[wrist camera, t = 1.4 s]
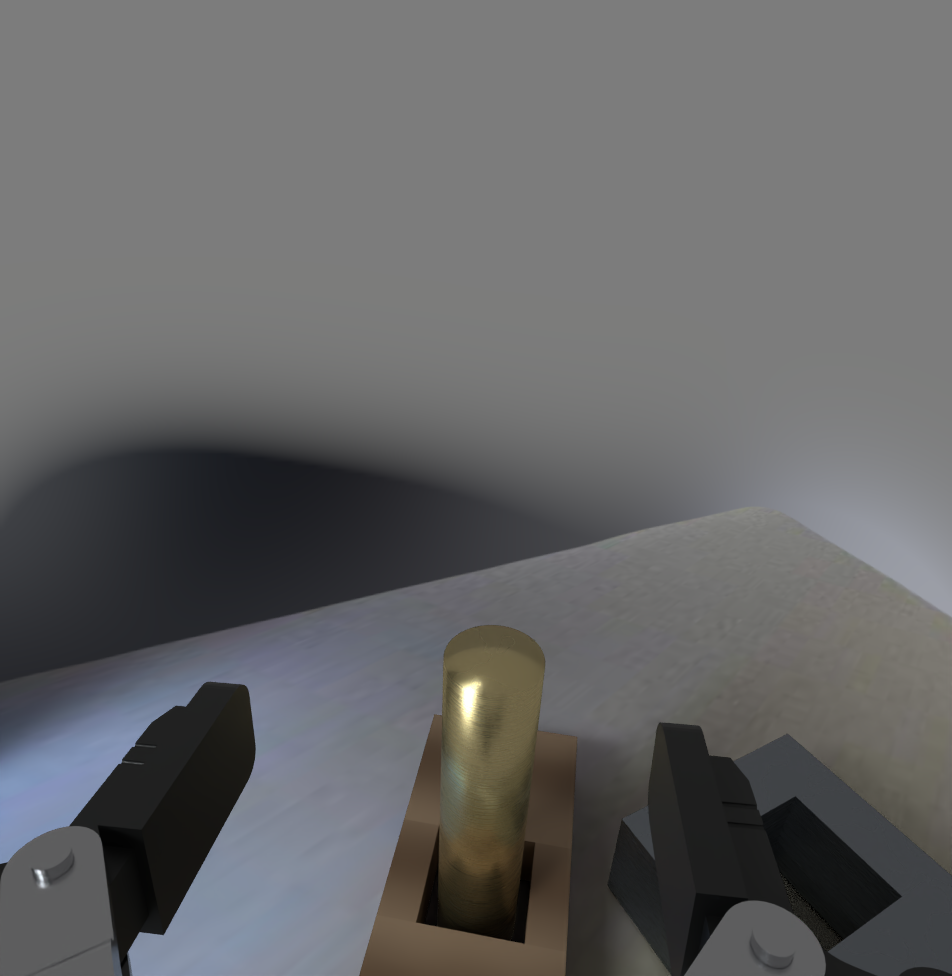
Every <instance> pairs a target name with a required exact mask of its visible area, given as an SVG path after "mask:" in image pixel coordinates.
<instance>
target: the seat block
mask: <svg viewBox="0 0 952 976" xmlns="http://www.w3.org/2000/svg"><path fill="white" fill-rule="evenodd" d="M734 763H735V764H736V765H737V767H738V768H739V769H740V770H741V771H742V773H743V774H744V775H745V776H746V777H747V778H748V780H749V782H750V785H751V788H752V791H753V794H754V797H755V800H756V803H757V810H759V812H760V815H761V818H762V821H763V824H764V830H765V831H766V833H767V836H768V839H769V842H770V845H771V848H772V851H773V854H774V857H775V860H776V863H777V866H778V869H779V871H780V873H781V874H782V875H783V876H784V877H785V878H786V879H787V880H788V881H789V882H790V883H791V884H792V885H793V886H794V887H795V888H796V890H797V891H798V892H799V893H800V894H801V895H802V896H803V897H804V898H805V899H806V900H807V901H808V902H809V903H810V904H811V905H812V907H813V908H814V909H815V910H816V911H817V912H818V913H819V914H820V915H821V916H822V917H823V918H824V919H825V920H826V921H827V922H828V924H829V925H830V926H831V927H832V928H833V929H834V930H835V931H836V932H837V933H838V934H839V935H840V936H841V937H842V938H843V939H844V940H843V941H841V942H840V943H839V944H837V945H836V946H835V947H833V948H832V949H831V950H829V951H828V952H829V953H830V954H831V955H833V956H835V957H836V958H838V959H840V960H841V961H844V962H846V963H848V964H850V965H852V966H855V967H857V968H859V969H862V970H864V971H867V972H869V973H872V974H874V975H877V976H899V975H900V974H901V973H902V972H904V971H905V970H907V969H911V968H914V967H929V968H935V969H939V970H942V971H945V972H947V973H950V974H952V876H951V875H950V874H949V873H948V872H947V871H946V870H944V869H943V868H942V867H941V866H940V865H939V864H937V863H936V862H935V861H934V860H933V859H932V858H931V857H929V856H928V855H927V854H926V853H925V852H924V851H922V850H921V849H920V848H919V847H918V846H917V845H916V844H914V843H913V842H912V841H911V840H910V839H909V838H907V837H906V836H905V835H904V834H903V833H902V832H901V831H899V830H898V829H897V828H896V827H895V826H894V825H892V824H891V823H890V822H889V821H888V820H887V819H886V818H884V817H883V816H882V815H881V814H880V813H879V812H877V811H876V810H875V809H874V808H873V807H872V806H871V805H869V804H868V803H867V802H866V801H865V800H864V799H862V798H861V797H860V796H859V795H858V794H857V793H856V792H854V791H853V790H852V789H851V788H850V787H849V786H847V785H846V784H845V783H844V782H843V781H842V780H841V779H839V778H838V777H837V776H836V775H835V774H834V773H832V772H831V771H830V770H829V769H828V768H827V767H826V766H824V765H823V764H822V763H821V762H820V761H819V760H817V759H816V758H815V757H814V756H813V755H812V754H811V753H809V752H808V751H807V750H806V749H805V748H804V747H803V746H801V745H800V744H799V743H798V742H797V741H796V740H794V739H793V738H792V737H791V736H790V735H789V734H786V735H784V736H782V737H780V738H778V739H776V740H774V741H772V742H770V743H769V744H767V745H765V746H763V747H761V748H759V749H757V750H755V751H753V752H751V753H749V754H747V755H745V756H743V757H741V758H739V759H737V760H735V761H734ZM608 886H609V888H610V889H611V891H612V892H613V894H614V895H615V896H616V898H617V899H618V901H619V902H620V903H621V905H622V906H623V908H624V909H625V910H626V912H627V913H628V915H629V916H630V917H631V919H632V920H633V922H634V923H635V924H636V926H637V927H638V929H639V930H640V931H641V933H642V934H643V936H644V937H645V938H646V940H647V941H648V943H649V944H650V946H651V947H652V948H653V950H654V951H655V953H656V954H657V955H658V957H659V958H660V960H661V961H662V962H663V964H664V965H665V967H666V968H667V969H668V971H669V972H670V974H671V975H672V972H671V965H670V959H669V952H668V945H667V938H666V931H665V925H664V918H663V911H662V904H661V897H660V891H659V884H658V877H657V870H656V864H655V857H654V850H653V843H652V836H651V830H650V823H649V812H648V806H646V807H644V808H642V809H640V810H638V811H636V812H634V813H632V814H630V815H628V816H626V817H625V818H623V819H622V821H621V826H620V830H619V835H618V839H617V844H616V849H615V853H614V858H613V862H612V867H611V872H610V876H609V881H608Z"/></svg>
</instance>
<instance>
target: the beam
mask: <svg viewBox="0 0 952 976" xmlns="http://www.w3.org/2000/svg"><path fill="white" fill-rule="evenodd" d="M441 747H442V715H435V714H434V718H433V721H432V725H431V728H430V732H429V735H428V739H427V742H426V745H425V749H424V752H423V756H422V759H421V763H420V766H419V770H418V773H417V777H416V780H415V784H414V787H413V791H412V794H411V798H410V801H409V805H408V808H407V811H406V815H405V818H404V822H403V825H402V829H401V832H400V836H399V839H398V843H397V846H396V850H395V853H394V857H393V860H392V864H391V867H390V871H389V874H388V877H387V881H386V884H385V888H384V891H383V895H382V898H381V902H380V905H379V909H378V912H377V916H376V919H375V923H374V926H373V930H372V933H371V936H370V940H369V943H368V947H367V950H366V954H365V957H364V961H363V964H362V968H361V971H360V975H359V976H565V970H566V950H567V930H568V911H569V891H570V871H571V851H572V831H573V811H574V792H575V772H576V752H577V737H575V736H568V735H562V734H556V733H549V732H543V731H537V739H536V747H535V756H534V765H533V773H532V782H531V790H530V799H529V808H528V816H527V825H526V833H525V842H524V850H523V859H522V868H521V876H520V879H521V880H526V881H530V888H529V898H528V908H527V918H526V928H525V937H524V944H523V943H518V942H512V941H507V940H502V939H497V938H492V937H487V936H482V935H477V934H472V933H467V932H462V931H457V930H451V929H446V928H441V927H436V926H431V925H426V924H425V920H426V916H427V911H428V907H429V902H430V898H431V893H432V889H433V885H434V880H435V876H436V871H437V867H438V864H439V831H440V789H441Z"/></svg>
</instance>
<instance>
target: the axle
mask: <svg viewBox="0 0 952 976" xmlns="http://www.w3.org/2000/svg"><path fill="white" fill-rule="evenodd" d="M544 670H545V658H544V654H543V652H542V650H541V648H540V647H539V645H538V644H537V643H536V642H535V641H534V640H533V639H532V638H531V637H529V636H528V635H526V634H524V633H523V632H520V631H518V630H516V629H513V628H509V627H505V626H498V625H484V626H477V627H473V628H470V629H467V630H465V631H463V632H461V633H459V634H458V635H456V636H455V637H454V638H453V639H452V640H451V641H450V642H449V643H448V645H447V647H446V649H445V652H444V664H443V705H442V747H441V789H440V831H439V872H438V914H437V924H438V927H441V928H446V929H451V930H457V931H462V932H467V933H472V934H477V935H482V936H487V937H492V938H497V939H502V940H507V941H510V940H511V938H512V936H513V933H514V927H515V919H516V910H517V902H518V893H519V885H520V876H521V868H522V859H523V850H524V842H525V833H526V825H527V816H528V808H529V799H530V790H531V782H532V773H533V765H534V756H535V747H536V739H537V730H538V722H539V713H540V705H541V696H542V687H543V679H544Z"/></svg>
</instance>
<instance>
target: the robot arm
mask: <svg viewBox="0 0 952 976" xmlns="http://www.w3.org/2000/svg"><path fill="white" fill-rule="evenodd" d="M255 751H256V747H255V738H254V729H253V721H252V713H251V705H250V697H249V691H248V689H247V687H246V686H245V685H241V684H229V683H218V682H206V683H205V684H203V685H202V687H201V688H200V689H199V690H198V692H197V693H196V694H195V696H194V697H193V698H192V700H191V701H190V702H189V704H188V705H187V706H186V707H184V706H175V707H173V708H172V709H170V710H169V711H168V712H166V713H165V714H163V715H162V716H160V717H159V718H158V719H156V720H155V721H153V722H152V723H151V724H150V725H149V727H148V728H147V729H146V730H145V732H144V733H143V734H142V735H141V737H140V738H139V739H138V740H137V742H136V743H135V747H132V748H131V749H130V750H129V752H128V753H127V754H126V755H125V757H124V758H123V759H122V763H121V764H118V765H117V767H116V768H115V769H114V770H113V772H112V773H111V774H110V776H109V777H108V778H107V779H106V781H105V782H104V783H103V784H102V786H101V787H100V788H99V789H98V791H97V792H96V793H95V794H94V796H93V797H92V798H91V799H90V801H89V802H88V803H87V804H86V806H85V807H84V808H83V809H82V811H81V812H80V813H79V814H78V816H77V817H76V818H75V819H74V821H73V822H72V823H71V824H70V826H69V827H63V828H58V829H55V830H52V831H49V832H47V833H44V834H42V835H40V836H38V837H36V838H35V839H33V840H32V841H30V842H28V843H27V844H26V845H24V846H23V847H22V848H21V849H19V850H18V851H17V852H16V853H15V854H14V855H13V857H12V858H11V859H10V860H9V862H7V863H3V864H0V976H132V970H131V963H130V958H129V953H128V951H129V949H130V947H131V946H132V944H133V942H134V940H135V939H136V937H137V935H138V933H139V932H143V933H152V934H160V935H164V934H165V932H166V930H167V928H168V926H169V924H170V923H171V921H172V919H173V917H174V915H175V913H176V912H177V910H178V908H179V906H180V904H181V902H182V901H183V899H184V897H185V895H186V893H187V891H188V890H189V888H190V886H191V884H192V882H193V880H194V879H195V877H196V875H197V873H198V871H199V869H200V868H201V866H202V864H203V862H204V860H205V859H206V857H207V855H208V853H209V851H210V849H211V848H212V846H213V844H214V842H215V840H216V838H217V837H218V835H219V833H220V831H221V829H222V827H223V826H224V824H225V822H226V820H227V818H228V816H229V815H230V813H231V811H232V809H233V807H234V805H235V804H236V802H237V800H238V798H239V796H240V794H241V793H242V791H243V789H244V787H245V785H246V783H247V782H248V780H249V778H250V775H251V772H252V769H253V765H254V760H255ZM648 812H649V823H650V830H651V836H652V843H653V850H654V857H655V864H656V870H657V877H658V884H659V891H660V897H661V904H662V911H663V918H664V925H665V931H666V938H667V945H668V952H669V959H670V965H671V972H672V976H877V975H874V974H872V973H869V972H867V971H864V970H862V969H859V968H857V967H855V966H852V965H850V964H848V963H846V962H844V961H841V960H840V959H838V958H836V957H835V956H833V955H831V954H830V953H829V952H827V951H826V950H824V949H823V948H822V947H821V946H820V943H819V941H818V940H817V938H816V937H815V935H814V934H813V932H812V931H811V930H810V929H809V928H808V927H807V925H806V924H804V923H803V922H802V921H801V920H800V919H799V918H798V917H796V916H795V915H794V913H793V910H792V908H791V905H790V902H789V899H788V896H787V893H786V890H785V887H784V884H783V881H782V878H781V875H780V872H779V869H778V866H777V863H776V860H775V857H774V854H773V851H772V848H771V845H770V842H769V839H768V836H767V833H766V831H765V830H764V824H763V821H762V818H761V815H760V812H759V810H757V803H756V800H755V797H754V794H753V791H752V788H751V785H750V782H749V780H748V778H747V777H746V776H745V775H744V774H743V773H742V771H741V770H740V769H739V768H738V767H737V765H736V764H735V763H734V762H733V761H732V759H731V758H729V757H718V756H709V753H708V750H707V746H706V743H705V739H704V735H703V732H702V729H701V727H700V726H696V725H684V724H673V723H661V722H660V723H659V724H658V727H657V732H656V739H655V746H654V753H653V760H652V767H651V774H650V782H649V792H648ZM899 976H952V974H950V973H947V972H945V971H942V970H939V969H935V968H929V967H914V968H911V969H907V970H905V971H904V972H902V973H901V974H900V975H899Z"/></svg>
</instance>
